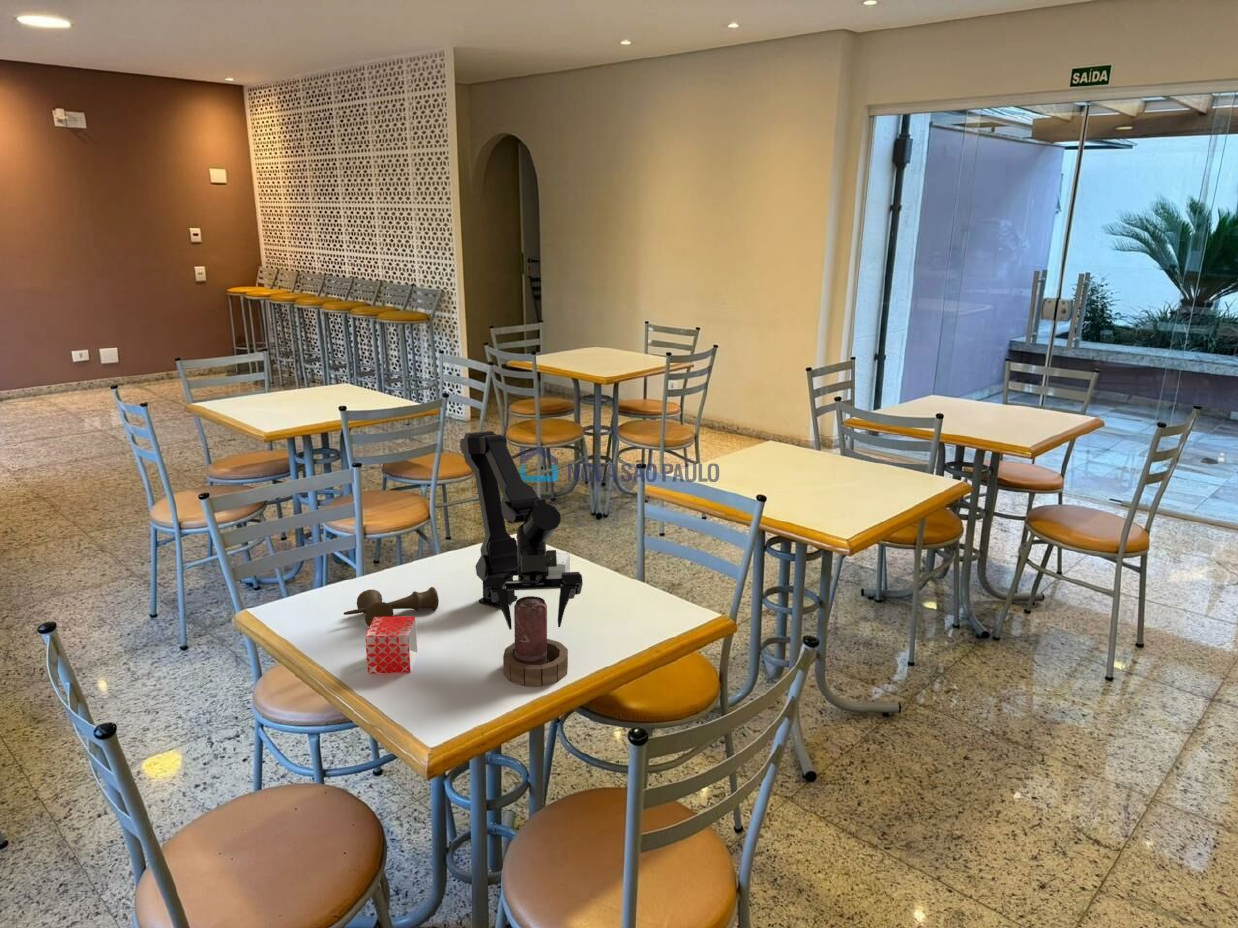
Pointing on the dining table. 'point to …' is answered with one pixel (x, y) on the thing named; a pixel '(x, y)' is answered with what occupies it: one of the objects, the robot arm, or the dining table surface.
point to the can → (530, 630)
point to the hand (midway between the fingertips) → (535, 627)
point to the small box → (560, 566)
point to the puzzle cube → (391, 645)
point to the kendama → (392, 604)
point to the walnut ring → (537, 666)
